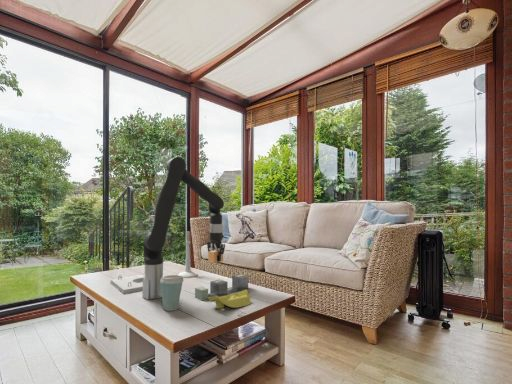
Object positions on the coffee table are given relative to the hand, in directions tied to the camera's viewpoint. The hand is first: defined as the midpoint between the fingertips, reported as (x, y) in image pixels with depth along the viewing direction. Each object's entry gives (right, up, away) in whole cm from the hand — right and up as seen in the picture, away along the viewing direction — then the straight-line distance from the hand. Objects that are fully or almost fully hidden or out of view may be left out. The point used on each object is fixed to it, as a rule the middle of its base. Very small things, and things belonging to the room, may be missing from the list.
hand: (215, 260), depth 172 cm
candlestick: (-22, -16, +26) cm, 38 cm away
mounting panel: (-45, -16, +6) cm, 48 cm away
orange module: (0, 0, 0) cm, 0 cm away
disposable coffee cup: (-16, -14, -35) cm, 41 cm away
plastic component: (+10, -15, -30) cm, 35 cm away
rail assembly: (+8, -15, -10) cm, 20 cm away
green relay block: (-5, -15, -20) cm, 25 cm away
